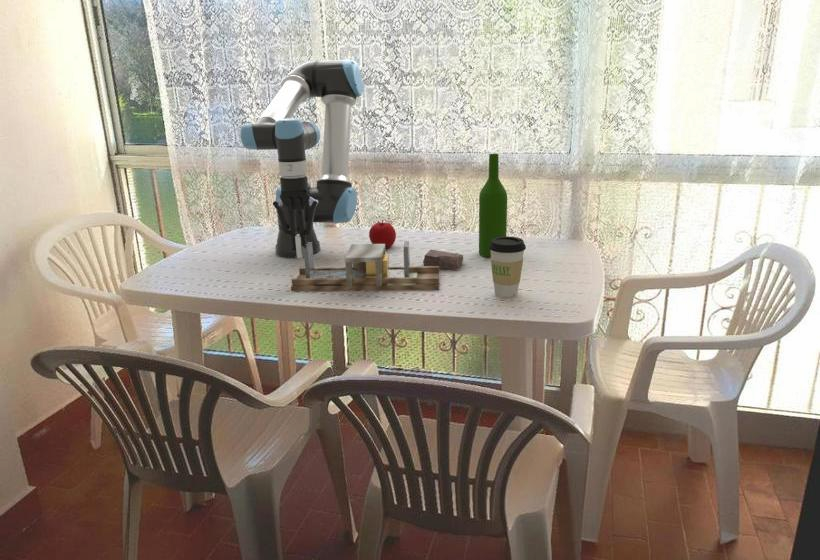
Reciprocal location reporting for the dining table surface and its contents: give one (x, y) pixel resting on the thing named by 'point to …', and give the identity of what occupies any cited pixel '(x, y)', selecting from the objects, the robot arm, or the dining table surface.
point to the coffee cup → (506, 264)
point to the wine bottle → (492, 208)
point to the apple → (382, 234)
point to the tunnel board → (358, 257)
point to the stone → (443, 259)
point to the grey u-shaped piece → (367, 273)
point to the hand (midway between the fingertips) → (300, 256)
